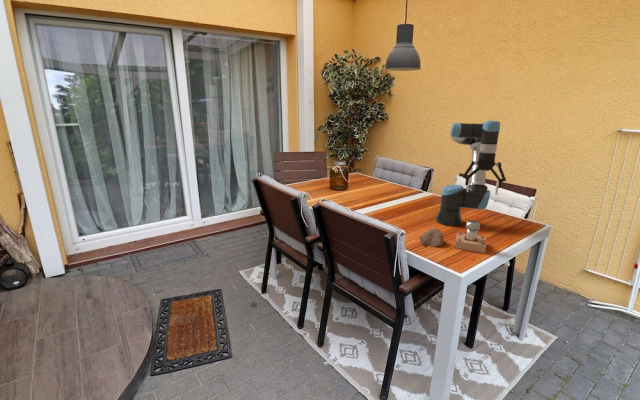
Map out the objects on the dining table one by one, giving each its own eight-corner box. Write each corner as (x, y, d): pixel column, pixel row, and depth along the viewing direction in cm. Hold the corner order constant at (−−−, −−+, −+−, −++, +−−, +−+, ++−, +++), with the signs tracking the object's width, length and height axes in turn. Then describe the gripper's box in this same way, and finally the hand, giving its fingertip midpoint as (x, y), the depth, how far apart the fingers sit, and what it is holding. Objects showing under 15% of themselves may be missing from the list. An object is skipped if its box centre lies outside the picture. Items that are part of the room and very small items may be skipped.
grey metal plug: (462, 247, 169) (466, 223, 166) (463, 242, 175) (466, 219, 171) (476, 249, 167) (480, 225, 163) (476, 244, 172) (480, 221, 169)
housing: (454, 249, 169) (455, 239, 167) (455, 241, 179) (457, 231, 178) (484, 255, 163) (486, 244, 162) (484, 245, 174) (485, 235, 172)
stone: (442, 246, 178) (437, 228, 181) (450, 244, 169) (444, 225, 172) (420, 250, 177) (416, 232, 180) (426, 248, 168) (421, 229, 171)
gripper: (461, 151, 168) (456, 192, 174) (516, 154, 159) (509, 196, 165) (460, 149, 174) (455, 188, 181) (514, 152, 166) (507, 193, 172)
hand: (481, 192), depth 173 cm, fingers open, 13 cm apart
